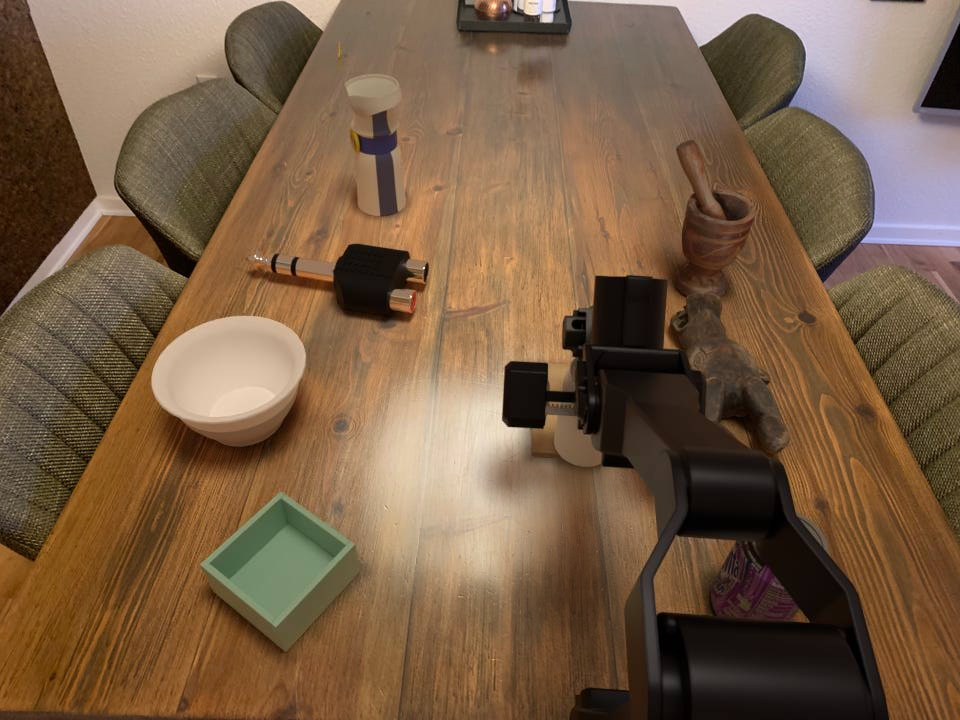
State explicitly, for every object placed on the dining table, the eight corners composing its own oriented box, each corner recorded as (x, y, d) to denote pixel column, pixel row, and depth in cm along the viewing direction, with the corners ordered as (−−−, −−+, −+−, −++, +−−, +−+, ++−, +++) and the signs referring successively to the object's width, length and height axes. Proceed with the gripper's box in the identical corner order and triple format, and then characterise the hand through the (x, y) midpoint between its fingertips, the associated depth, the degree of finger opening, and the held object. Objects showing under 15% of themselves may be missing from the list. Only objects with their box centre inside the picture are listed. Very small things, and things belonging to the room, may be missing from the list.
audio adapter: (407, 296, 89) (222, 266, 92) (409, 327, 93) (231, 297, 96) (430, 246, 97) (258, 220, 100) (431, 277, 100) (266, 250, 104)
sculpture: (730, 321, 95) (746, 282, 90) (788, 482, 78) (813, 444, 73) (655, 319, 95) (668, 279, 90) (697, 481, 77) (716, 442, 72)
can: (543, 433, 80) (553, 357, 71) (593, 416, 82) (609, 341, 73) (570, 476, 76) (585, 402, 67) (622, 458, 78) (643, 384, 69)
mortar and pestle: (642, 292, 99) (673, 163, 85) (649, 257, 105) (680, 131, 91) (727, 309, 97) (773, 180, 83) (729, 272, 103) (773, 145, 89)
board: (639, 462, 78) (641, 457, 78) (531, 456, 79) (531, 452, 78) (627, 371, 88) (628, 366, 88) (530, 366, 88) (531, 361, 88)
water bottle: (364, 223, 109) (347, 60, 92) (348, 195, 115) (329, 36, 97) (415, 212, 112) (407, 51, 94) (397, 185, 117) (386, 28, 99)
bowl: (268, 492, 74) (252, 441, 68) (142, 447, 78) (116, 395, 72) (341, 387, 85) (332, 335, 79) (227, 353, 89) (210, 301, 83)
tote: (360, 571, 68) (355, 543, 65) (286, 652, 63) (275, 627, 59) (289, 519, 72) (280, 490, 69) (213, 591, 66) (199, 564, 63)
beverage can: (734, 558, 70) (772, 489, 62) (799, 608, 67) (850, 541, 58) (693, 605, 67) (729, 538, 58) (761, 660, 63) (809, 597, 55)
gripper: (732, 312, 59) (682, 322, 75) (509, 301, 60) (505, 313, 75) (726, 445, 59) (676, 427, 75) (503, 434, 60) (500, 418, 75)
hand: (589, 393), depth 75 cm, fingers open, 9 cm apart
